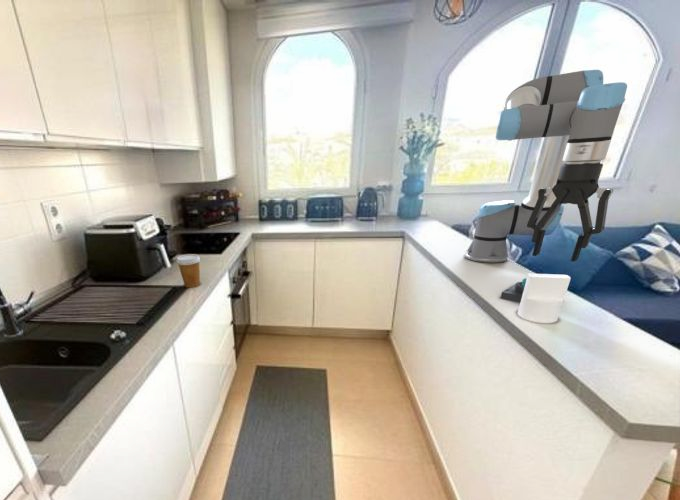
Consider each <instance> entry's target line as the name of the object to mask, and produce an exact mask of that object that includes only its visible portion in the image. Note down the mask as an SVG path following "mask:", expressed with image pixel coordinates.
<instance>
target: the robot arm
mask: <svg viewBox="0 0 680 500" xmlns="http://www.w3.org/2000/svg"><path fill="white" fill-rule="evenodd" d="M627 89H628V84H627V83H626V82H621V81H620V82H610V83H609V82H608V83H604V72H603V71H602V70H600V69H587V70H586V69H585V70H584V69H583V70H578V71H572V72H566V73H561V74H560V73H559V74H554V75H548V76H540V77H537V78H534V79H531V80H528V81H527V82H525V83H522V84H521V85H519V86H517V87H516V88H515V89H513V90H512V91H511V92H510V93H509V94H508V96H507V97H506V99H505V102H504V104H503V110H502V111H500V113H499V118H498V122H497V128H496V132H495V139H496V140H497V141H509V142H510V141H514V140H515V141H516V140H524V139H525V140H528V139H538V138H543V141H542V144H541V148H540V151H539V155H538V159H537V163H536V167H535V170H534V174H533V178H532V181H531V185H530V188H529V193H528V195H527V196H526V197H524V198H523V199H522V200H521V204H516V203H515V201H514V200H511V199H510V200H497V201H491V202H486V203H484V204H482V205H481V206H480V207H479V209H478V213H477V215H476V217H477V219H476V225H475V229H474V234H473V239H472V241H471V243H470V244H469V246H468V248H467V250H466V251H465V258H466V259H467V260H469V261H472V262H478V263H486V264H489V263H490V264H494V263H495V264H496V263H503V262H507V261H508V256H509V252H508V246H507V238H508V235H509V236H510V235H514V236H532V238H531V243H534V247H533V251H532V256H533V257H536V256H538V255H540V253H541V249H542V246H543V241H544V239H545V236H549V235H551V234H553V233H554V232H555V231H556V229H557V228H558V226H559V224H560V223H561V220H562V216H563V214H564V211H565V206H564V205H566V204H567V205H568V204H571V205H576V206H577V208H578V212H579V216H580V222H581V226H582V233H580V234H578V237H577V240H576V243H575V246H574V248H573V249H574V250H573V252H572V255H571V258H570V262H576V261H577V260H579V257H580V254H581V251H582V249H586V248H587V247H589V244H590V241H591V238H592V235H596V234H600V233H603V231H604V230H605V226H606V219H607V213H608V205H609V199H610V198H611V196H612V195H613V193H614V189H613V188H604V187H600V186H599V179H600V177H601V173H602V170H603V166H604V163H603V162H602V161H604V160H605V159H606V158H607V154H608V151H609V149H610V145H611V141H612V138H613V134H614V132H615V128H616V125H617V122H618V119H619V116H620V113H621V110H622V107H623V104H624V103H625V101H626V93H627ZM594 194H597V195H596V197H597V198H598V202H597V209H596V216H595V224H594V227H593V221H592V216H591V212H590V204H589V203H590V202H589V198H590V197H592V196H593V195H594Z"/></svg>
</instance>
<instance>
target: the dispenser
mask: <svg viewBox="0 0 680 500" xmlns="http://www.w3.org/2000/svg"><path fill="white" fill-rule="evenodd" d="M521 285H522V281H518V282H515V283H514V284H513V285H510V286H509V287H507V288H506V289H504V290H503V291H501V294H500V299H502V300H507V301H512V302H515V303H519V304H520V302H521V299H522V295H523V291H524V287H523V286H521Z"/></svg>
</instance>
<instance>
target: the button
mask: <svg viewBox="0 0 680 500" xmlns="http://www.w3.org/2000/svg"><path fill="white" fill-rule="evenodd" d="M526 280H527V277H526V278H523V279H522V281H521V282H522V285H521V286H523V287H525V284H526Z"/></svg>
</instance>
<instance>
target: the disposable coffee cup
mask: <svg viewBox="0 0 680 500" xmlns="http://www.w3.org/2000/svg"><path fill="white" fill-rule="evenodd" d="M200 262H201V258H200V256H199V255H198V254H196V253H194V254H193V253H187V254H184V255H183V254H182V255H180V256H178V257H176V263H177V265H178V267H179V271H180V274H181V277H182V282H183V285H184V287H186V288H195V287H198V286H200V285H201V275H200V274H201V273H200V271H201V270H200Z"/></svg>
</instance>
